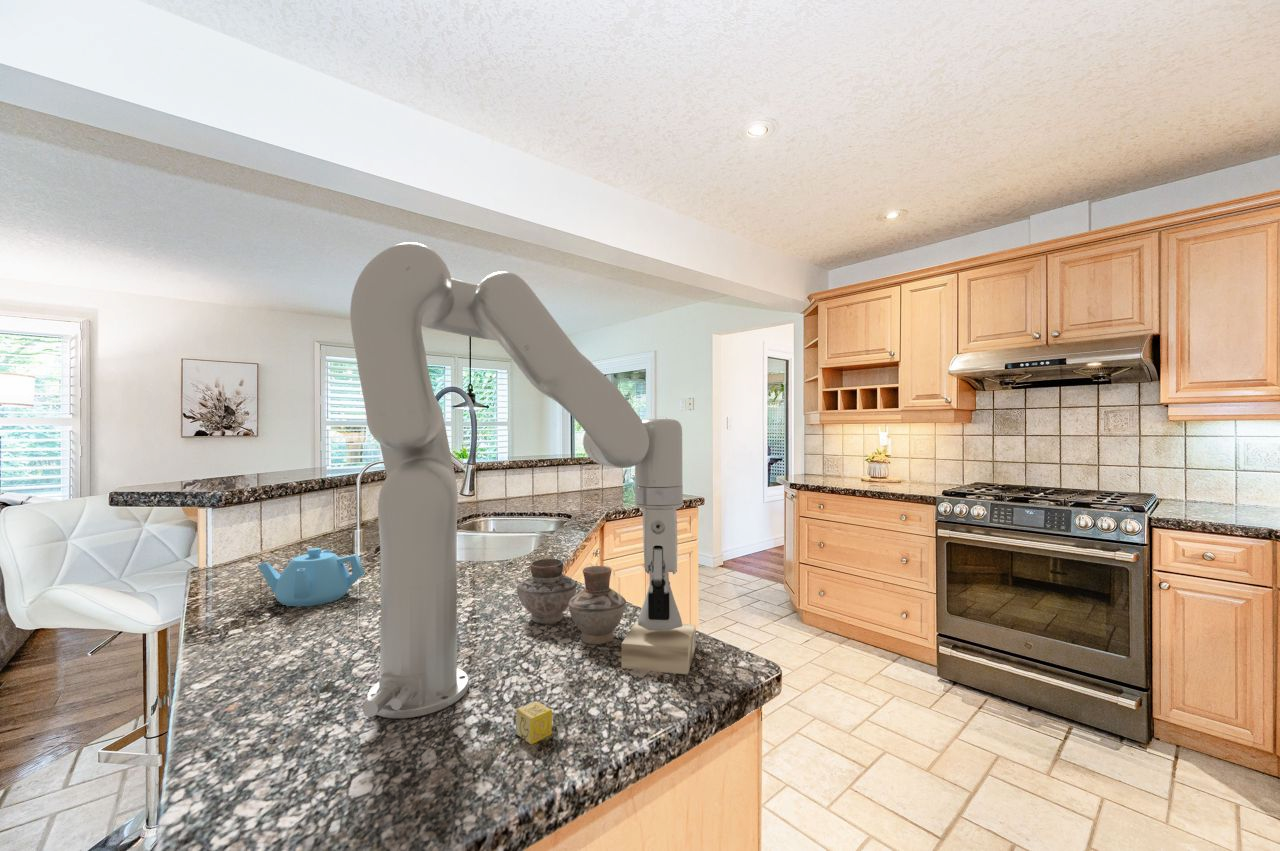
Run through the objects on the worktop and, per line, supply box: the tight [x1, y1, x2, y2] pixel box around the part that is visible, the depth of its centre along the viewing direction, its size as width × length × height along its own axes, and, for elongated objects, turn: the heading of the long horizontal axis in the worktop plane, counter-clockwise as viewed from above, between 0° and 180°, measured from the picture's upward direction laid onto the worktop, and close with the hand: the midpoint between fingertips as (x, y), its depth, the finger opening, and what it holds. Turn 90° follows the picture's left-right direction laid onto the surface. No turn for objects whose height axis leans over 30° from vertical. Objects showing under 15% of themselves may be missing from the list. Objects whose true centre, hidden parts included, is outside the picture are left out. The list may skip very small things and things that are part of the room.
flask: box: [637, 568, 683, 630], centre depth 82 cm, size 7×7×10 cm
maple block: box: [621, 619, 697, 675], centre depth 82 cm, size 10×10×4 cm
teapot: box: [257, 547, 366, 607], centre depth 112 cm, size 15×15×11 cm
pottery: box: [516, 558, 627, 645], centre depth 94 cm, size 11×25×12 cm, turn 47°
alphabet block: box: [515, 700, 553, 745], centre depth 61 cm, size 3×3×3 cm
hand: (659, 611), depth 82 cm, fingers closed on flask, 4 cm apart
